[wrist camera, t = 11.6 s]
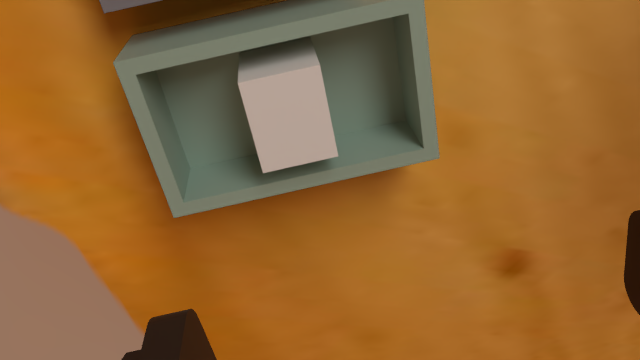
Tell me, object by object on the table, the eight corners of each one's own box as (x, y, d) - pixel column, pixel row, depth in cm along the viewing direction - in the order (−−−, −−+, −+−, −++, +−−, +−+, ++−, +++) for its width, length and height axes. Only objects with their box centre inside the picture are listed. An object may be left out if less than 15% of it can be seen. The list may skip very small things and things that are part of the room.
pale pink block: (310, 37, 31) (320, 64, 27) (326, 119, 33) (338, 156, 29) (239, 53, 31) (237, 83, 27) (261, 133, 33) (263, 173, 29)
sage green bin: (398, -25, 31) (423, -8, 27) (416, 122, 35) (439, 158, 31) (132, 35, 31) (112, 62, 27) (183, 174, 35) (173, 217, 31)
